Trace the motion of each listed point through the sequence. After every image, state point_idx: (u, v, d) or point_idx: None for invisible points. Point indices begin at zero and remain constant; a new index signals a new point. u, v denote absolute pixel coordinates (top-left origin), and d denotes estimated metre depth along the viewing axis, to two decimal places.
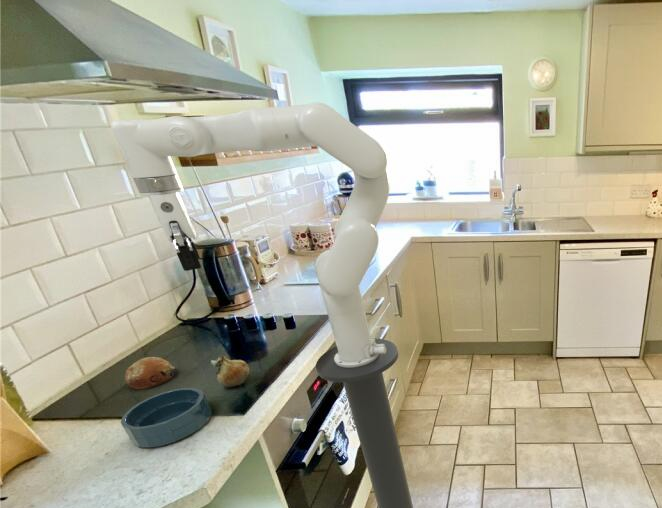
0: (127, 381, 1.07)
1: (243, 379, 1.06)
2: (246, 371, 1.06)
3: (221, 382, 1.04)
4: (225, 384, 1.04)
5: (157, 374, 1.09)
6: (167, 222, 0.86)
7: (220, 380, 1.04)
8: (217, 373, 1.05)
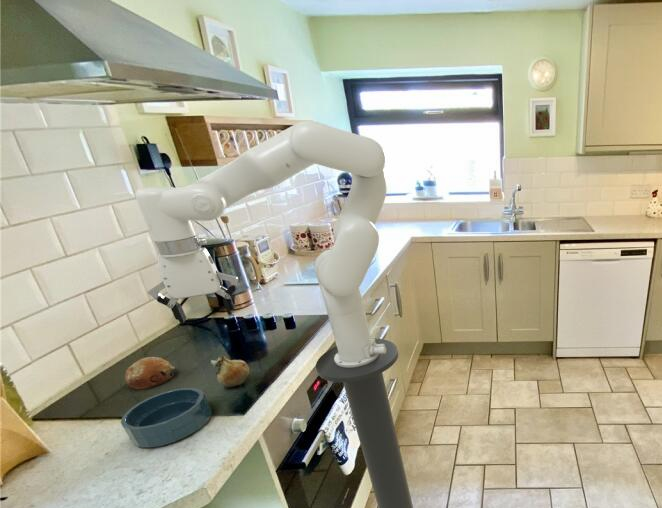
0: (127, 381, 1.07)
1: (243, 379, 1.06)
2: (246, 371, 1.06)
3: (221, 382, 1.04)
4: (225, 384, 1.04)
5: (157, 374, 1.09)
6: (215, 273, 0.96)
7: (220, 380, 1.04)
8: (217, 373, 1.05)
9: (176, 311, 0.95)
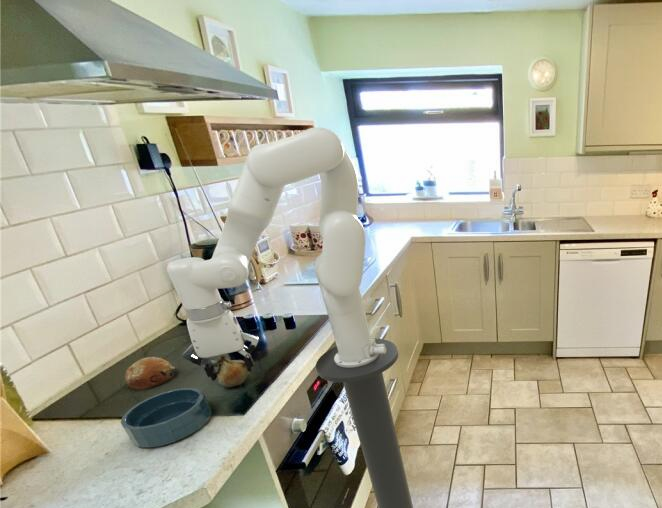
0: (127, 381, 1.07)
1: (243, 379, 1.06)
2: (246, 371, 1.06)
3: (221, 382, 1.04)
4: (225, 384, 1.04)
5: (157, 374, 1.09)
6: (239, 332, 1.03)
7: (220, 380, 1.04)
8: (217, 373, 1.05)
9: (208, 370, 1.03)
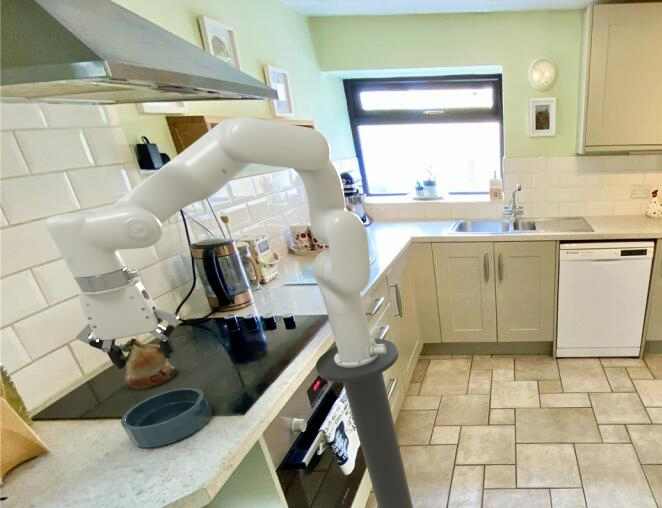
0: (127, 381, 1.07)
1: (159, 367, 0.87)
2: (163, 358, 0.87)
3: (129, 371, 0.84)
4: (134, 373, 0.84)
5: (157, 374, 1.09)
6: (151, 309, 0.83)
7: (128, 368, 0.84)
8: (126, 360, 0.85)
9: (113, 355, 0.83)
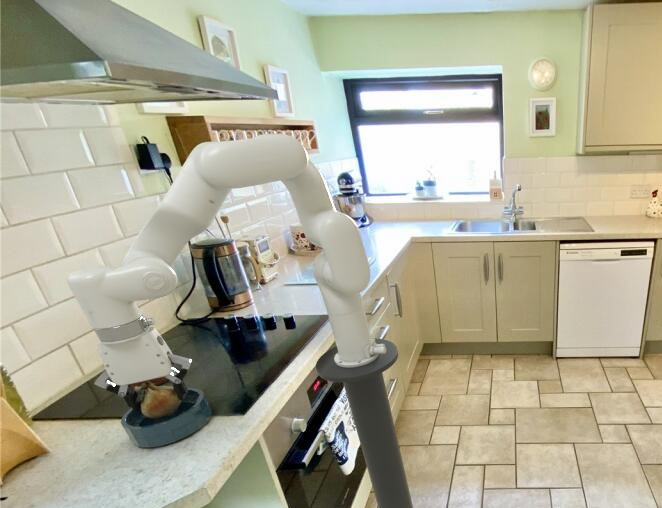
0: None
1: (173, 409, 0.90)
2: (176, 399, 0.90)
3: (145, 413, 0.87)
4: (149, 415, 0.87)
5: None
6: (166, 354, 0.86)
7: (143, 411, 0.87)
8: (141, 402, 0.89)
9: (129, 399, 0.86)
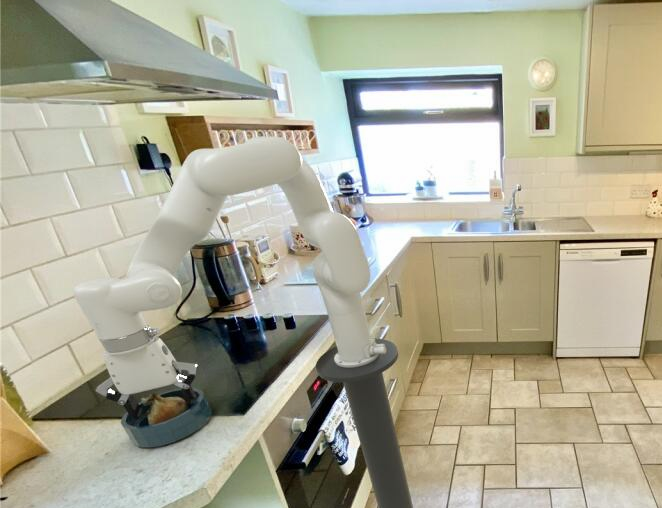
0: None
1: None
2: (182, 410, 0.91)
3: (151, 424, 0.89)
4: None
5: None
6: (171, 363, 0.87)
7: (150, 422, 0.89)
8: (148, 413, 0.90)
9: (128, 407, 0.87)
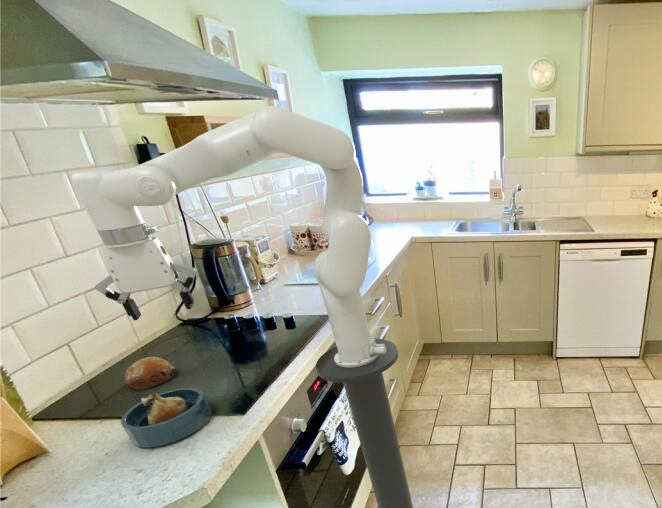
0: (127, 381, 1.07)
1: None
2: (182, 410, 0.91)
3: (151, 424, 0.89)
4: None
5: (157, 374, 1.09)
6: (169, 264, 0.88)
7: (150, 422, 0.89)
8: (148, 413, 0.90)
9: (128, 307, 0.88)
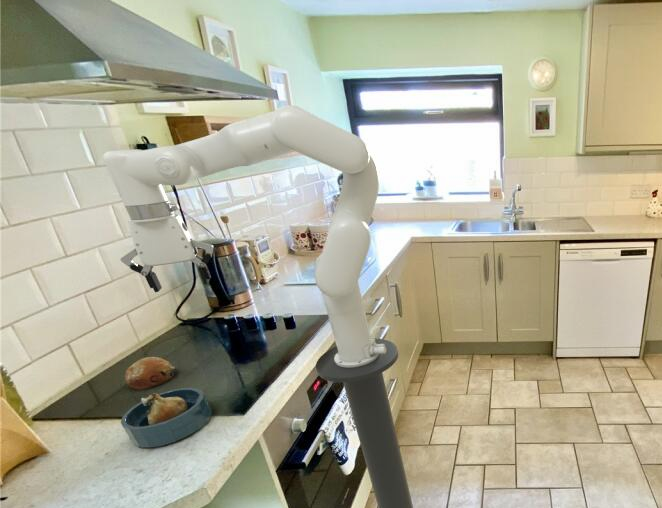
0: (127, 381, 1.07)
1: None
2: (182, 410, 0.91)
3: (151, 424, 0.89)
4: None
5: (157, 374, 1.09)
6: (189, 240, 0.95)
7: (150, 422, 0.89)
8: (148, 413, 0.90)
9: (150, 279, 0.94)
